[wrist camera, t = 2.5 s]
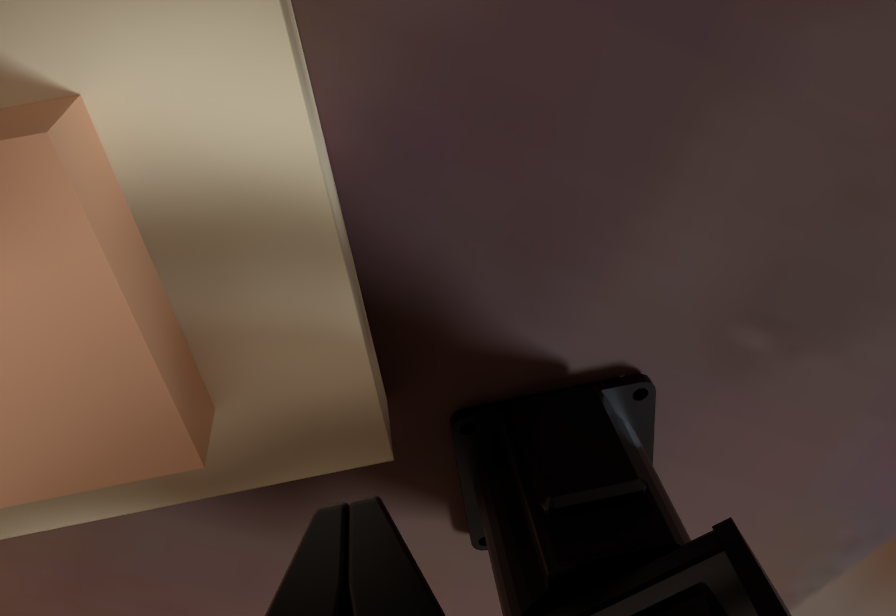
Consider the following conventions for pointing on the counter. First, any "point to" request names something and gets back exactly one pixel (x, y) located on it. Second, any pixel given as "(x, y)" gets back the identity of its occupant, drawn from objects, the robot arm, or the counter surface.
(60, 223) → the tile
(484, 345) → the counter surface
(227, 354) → the board
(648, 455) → the robot arm
